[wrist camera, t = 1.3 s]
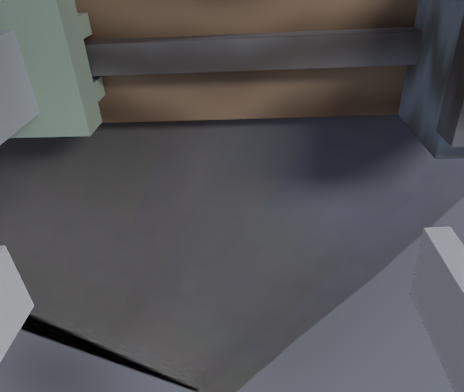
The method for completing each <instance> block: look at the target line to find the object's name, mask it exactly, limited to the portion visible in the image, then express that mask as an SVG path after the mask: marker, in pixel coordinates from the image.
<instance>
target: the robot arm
mask: <svg viewBox="0 0 464 392" xmlns="http://www.w3.org/2000/svg"><path fill="white" fill-rule="evenodd" d="M410 295H411V297H412V299H413V302H414V304H415V306H416V308H417V310H418V312H419V315H420V317H421V319H422V321H423V324H424V326H425V328H426V330H427V332H428V335H429V337H430V339H431V341H432V343H433V346H434V348H435V350H436V352H437V354H438V357H439V359H440V361H441V363H442V366H443V368H444V370H445V372H446V374H447V377H448V379H449V381H450V383H451V385H452V388H453V389H454V392H464V245H463V244H462V242H461V241H460V240H459V238H458V237H457V235H456V234H455V233H454V231H453V230H452V228H451V227H430V228H424V229H423V234H422V239H421V244H420V248H419V253H418V258H417V263H416V268H415V273H414V278H413V283H412V288H411V293H410ZM33 307H34V304H33V302H32V300H31V298H30V296H29V294H28V292H27V289H26V287H25V285H24V283H23V281H22V279H21V277H20V275H19V273H18V271H17V269H16V267H15V265H14V263H13V260H12V258H11V256H10V254H9V252H8V250H7V248H6V246H0V362H1V360H2V359H3V357H4V355H5V354H6V352H7V350H8V349H9V347H10V345H11V344H12V342H13V340H14V339H15V337H16V335H17V334H18V332H19V330H20V329H21V327H22V325H23V324H24V322H25V320H26V319H27V317H28V315H29V314H30V312H31V310H32V309H33Z"/></svg>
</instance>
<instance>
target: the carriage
mask: <svg viewBox="0 0 464 392" xmlns="http://www.w3.org/2000/svg"><path fill="white" fill-rule="evenodd" d="M91 34H92V31H91V26H90V21H89V17H88V13H77V9H76V4H75V0H0V145H1V144H2V143H4V142H5V141H6V140H7V139H9V138H36V137H75V136H91V135H92V134H93V132H94V131H95V130H96V129H97V128H98V126H99V125H100V124H101V123H102V118H101V114H100V109H99V105H98V102H99V101H100V100H101V99H102V98H103V97H104V96H105V91H104V86H103V82H102V77H101V76H97V77H92V74H91V70H90V66H89V61H88V57H87V52H86V48H85V44H84V39H85V38H86V37H88V36H90V35H91Z"/></svg>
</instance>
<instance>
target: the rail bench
mask: <svg viewBox="0 0 464 392" xmlns="http://www.w3.org/2000/svg"><path fill="white" fill-rule="evenodd" d="M75 4H76V9H77V13H88V17H89V21H90V26H91V31H92V34H91V35H90V36H88V37H86V38H85V39H84V44H85V48H86V52H87V57H88V61H89V66H90V70H91V74H92V77H97V76H101V77H102V82H103V86H104V91H105V96H104V97H103V98H102V99H101V100H100V101H99V102H98V105H99V109H100V114H101V118H102V123H118V122H154V121H190V120H226V119H262V118H299V117H335V116H371V115H399V116H400V118H401V119H402V120H403V121H404V122H405V124H406V125H407V126H408V127H409V128H410V129H411V131H412V132H413V133H414V134H415V135H416V137H417V138H418V139H419V140H420V141H421V143H422V144H423V145H424V146H425V147H426V149H427V150H428V151H429V152H430V153H431V155H432V156H433V157H434V158H435V159H452V158H464V0H75Z"/></svg>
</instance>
